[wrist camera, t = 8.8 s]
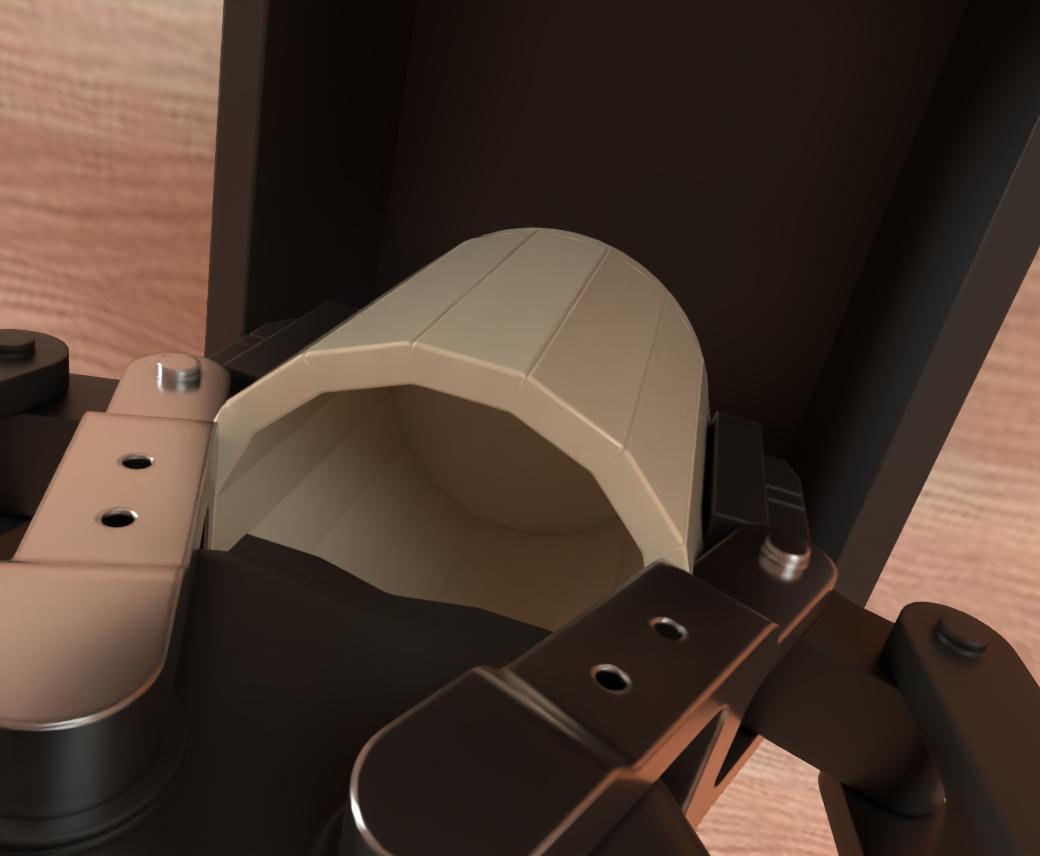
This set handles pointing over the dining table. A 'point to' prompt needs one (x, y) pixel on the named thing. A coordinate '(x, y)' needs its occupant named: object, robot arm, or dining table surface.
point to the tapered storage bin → (667, 193)
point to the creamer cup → (484, 432)
